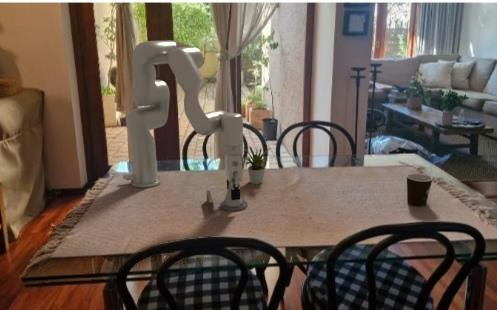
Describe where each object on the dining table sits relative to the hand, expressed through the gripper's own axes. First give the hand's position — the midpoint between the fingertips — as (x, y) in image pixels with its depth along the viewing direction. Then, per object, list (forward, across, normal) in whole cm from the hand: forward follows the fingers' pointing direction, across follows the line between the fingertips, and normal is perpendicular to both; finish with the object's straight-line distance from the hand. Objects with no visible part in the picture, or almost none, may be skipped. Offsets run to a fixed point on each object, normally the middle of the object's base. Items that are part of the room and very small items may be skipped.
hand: (233, 194), depth 153 cm
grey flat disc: (+4, 0, 0) cm, 4 cm away
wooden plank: (+4, +1, +8) cm, 10 cm away
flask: (+4, 0, 0) cm, 4 cm away
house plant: (+4, +23, -12) cm, 26 cm away
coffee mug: (+4, -12, -67) cm, 68 cm away
